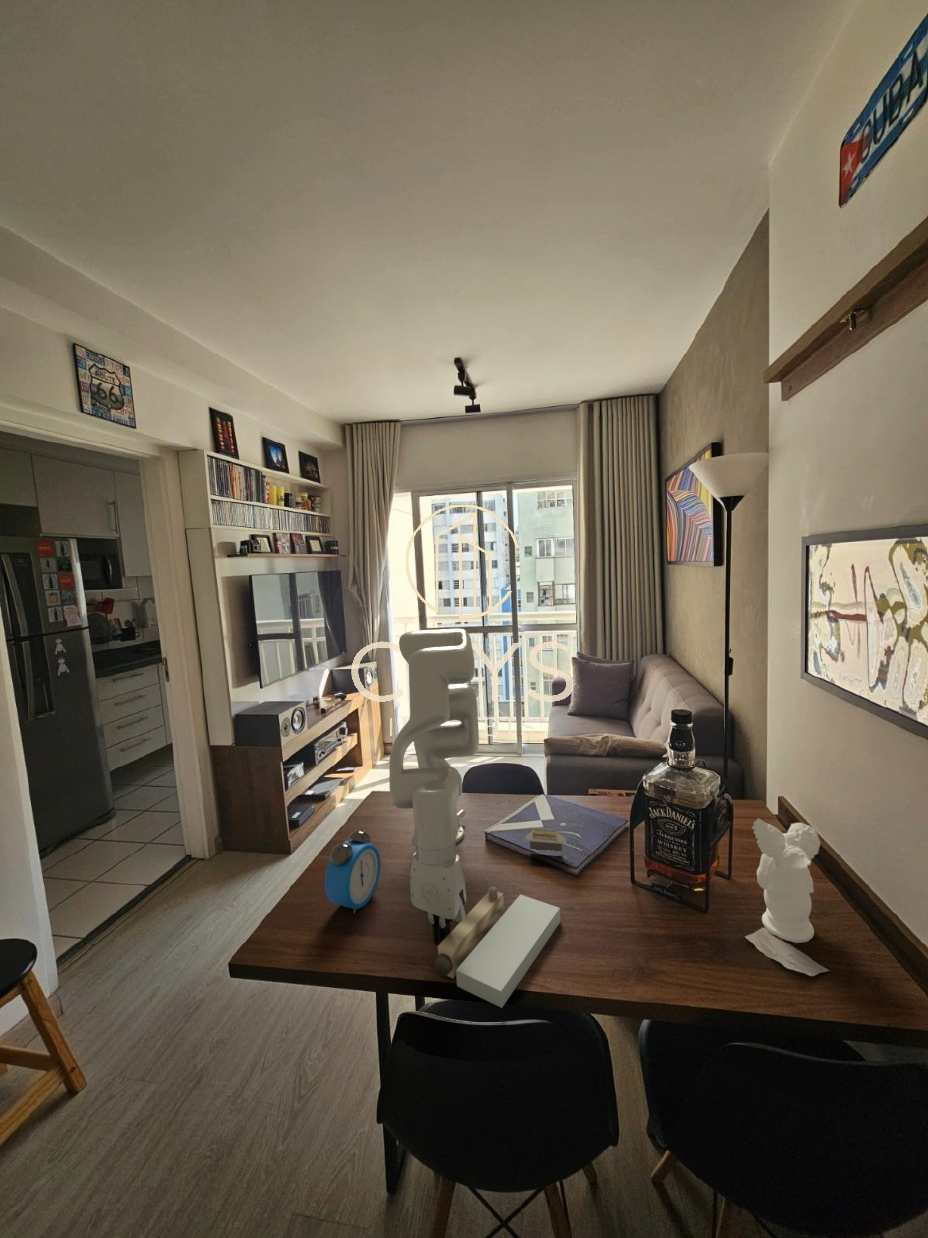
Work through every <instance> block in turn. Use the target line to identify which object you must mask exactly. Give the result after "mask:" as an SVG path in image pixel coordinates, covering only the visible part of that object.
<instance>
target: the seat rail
mask: <svg viewBox="0 0 928 1238" xmlns="http://www.w3.org/2000/svg"><path fill="white" fill-rule="evenodd" d="M560 923H561V907H558V906H555V905H552V904H549V903H546V902H543V901H540V900H537V899H535V898H532V897H529V896H527V895H524V894H519V896H517V898H516V899H515V900H514V901H513V903H512V904H511V905H510V906H509V907H508V908H507V910H506V911H504V914H503V916H502V917H501V918H500V919H499V920H498V921H497V923H496V924H495V925H494V926H493V927H492V928H491V930H490V931H489V932H488V933H487V934H486V936H485V937H484V938H483V939H482V940H481V941H480V943H479V944H478V945H477V946H476V947H475V948H474V950H473V951H472V952H471V953H470V954H469V956H468V957H467V958H466V959H465V960H464V961H463V963H462V964H461V965H460V966H459V967H458V968H457V970H456V976H455V977H456V986H457V987H458V988H460V989H462V990H463V991H466V992H468V993H470V994H472V995H475V996H476V997H478V998H481V999H483V1000H485V1001H487V1002H488V1003H490V1004H493V1005H495V1006H496V1007H499V1008H501V1009H502V1008H503V1007H504V1006H505V1004H506V1003H507V1002H508V1000H509V998H510V997H511V995H513V992H514V991H515V989H516V988H517V986H519V983H520V982H521V981H522V979H523V978H524V977H525V975H526V973H527V972H528V971H529V969H530V968H531V966H532V964H533V962H534V961H535V960H536V959H537V957H538V956H539V954H540V952H541V951H542V950H543V948H544V947H545V945H546V944H547V942H548V941H549V939H550V938H551V936H552V935H553V934H554V933H555V931H556V929H557V927H559V925H560Z"/></svg>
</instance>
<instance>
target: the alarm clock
mask: <svg viewBox="0 0 928 1238" xmlns="http://www.w3.org/2000/svg"><path fill="white" fill-rule="evenodd" d="M371 840H372V837H371V835H370V833H369V832H368V831H366V830H364V829H363V828H361V829H356V830H354V831H352V832H351V833H350V835H349V836H348V840H345V841H343V842H341V843H337V844H336V845H335V846H334V847H332V849H331V852H330V854H329V861H328V864H327V867H326V871H325V878H324V889H325V894H326V897H327V899H328V900H329V902H330V903H331V904H334V905H338V906H341V907H345V908H349V909H353V914H356V912H357V910H358V909H361V908H363V907H364V906H365V905H366V904H368V902H369V901H370V899H371V898H372V897H373V896H374V893H375V890H376V889H377V886H378V884H379V880H380V876H381V875H380V874H381V855H380V852H379V850H378V848H377V846H376V845H374V844H372V843H370V842H371Z"/></svg>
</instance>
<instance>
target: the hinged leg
mask: <svg viewBox="0 0 928 1238" xmlns="http://www.w3.org/2000/svg"><path fill="white" fill-rule="evenodd" d="M504 902H505V901H504V893H503V892H499V891H498V887H496V886H489V887H488V892H486V893H485V895H484V896H483V897H482V898H481V899H480V900H479V902H477V903H476V905H474V906H473V908H472V909H471V910H470V911H469V912H468V913H467V915H466V917H465V918H464V919H463V920H462V921H459V923H458V924H456V926H455V927H454V928H453V929H452V931H450V934H449V935H448V936H447V937H446V938H445V939H444V940H443V941H442V942H441V943H440V945H437V953H438V954H437V956H436V958H435V959H434V961H433V966H434V968H435V970H436V972H437V974H439V975H441V976H443V977H449V978H451V979H454V978H455V977H456V970H457V968H458V967H459V966H460V965H461V964H462V963H463V961H464V960H465V959H466V958H467V957H468V956H469V954H470V953H471V952H472V951H473V950H474V948H475V947H476V946H477V945H478V944H479V943H480V941H481V940H482V939H483V938H484V937H485V936H486V934H487V933H488V932H489V931H490V930H491V928H492V927H493V926H494V925H495V924H496V923H497V921H498V920H499V919H500V918H501V917H502V916H503V914H504V913H505V907H504V905H505V904H504Z"/></svg>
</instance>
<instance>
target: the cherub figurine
mask: <svg viewBox="0 0 928 1238" xmlns="http://www.w3.org/2000/svg"><path fill="white" fill-rule="evenodd" d="M752 830H754V831H753V834H754V835H755V839H757V841H756V843H757V845H758V847H759V849H760V852H761V853H762V854H761V856H760V859H759V860H760V861H759V866H758V868H757V869H756V876H757V879H756V880H757V883H758V885H759V887H760V888H762V889H763V898H764V904H765V906H766V909H765V910H766V911H765V912H764V913H763V914H762V916H761V921H762V924H763V927H765V929H766V931H767V932H768V933H770V934H772V935H774V936H777V937H778V938H779V939H782V940H785V941H787V942H792V943H795V944H798V943H799V944H800V943H807V942H809V941H810V940H811V939H813V937H814V936H815V929H814V927H813V925H812V923H811V922H810V918H809V917H810V914H811V912H812V905H813V904H812V898H811V895H810V894H812V893H814V891H815V890H814V881H813V878H812V875H811V871H810V868H808V866H811V864H812V859H814V858H815V856H816V855H818V854H819V850H820V847H821V841H820V838H819V834H818V831H816V829H815V828H814V827H812V826H811V825H808V824H807V823H806V824H805V823H803V822H795V823H790V827H789V828H788V830H787V832H785V833H784V832H782V831H781V830H780V829H779V828H777V827H776V826H774V825H771V823H770V824H769V823H767V822H765V821H764V820H762V819H761V818H759V817H758V818H757V819H756V820H755V821H754V822H753V825H752Z"/></svg>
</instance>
